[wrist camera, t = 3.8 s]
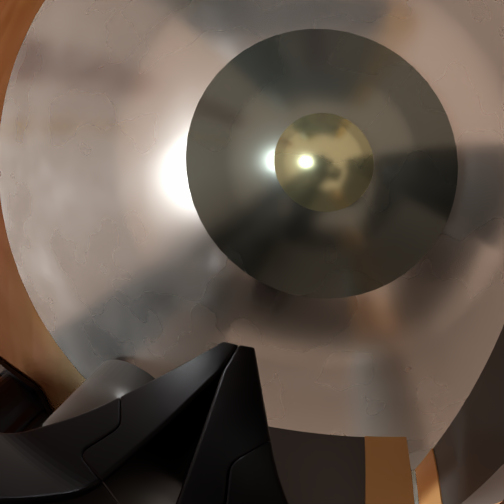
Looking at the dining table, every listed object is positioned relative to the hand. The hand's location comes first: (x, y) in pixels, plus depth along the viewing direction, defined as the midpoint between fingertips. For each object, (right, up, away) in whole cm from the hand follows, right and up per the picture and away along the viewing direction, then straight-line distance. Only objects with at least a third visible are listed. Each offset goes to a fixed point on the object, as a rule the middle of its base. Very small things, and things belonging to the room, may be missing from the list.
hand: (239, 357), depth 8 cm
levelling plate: (+2, +5, 0) cm, 5 cm away
